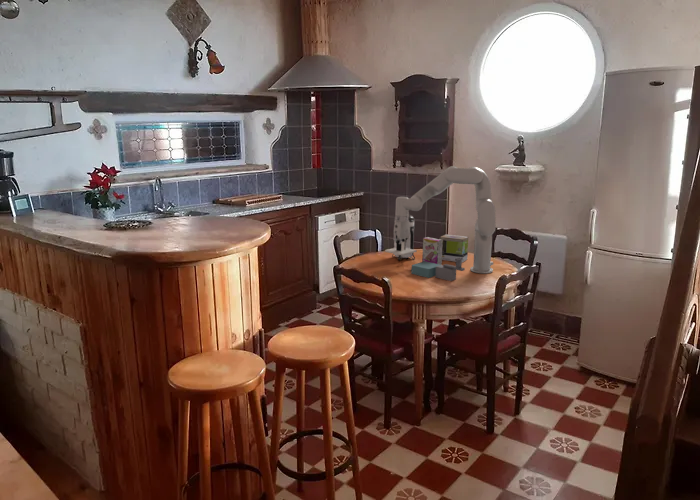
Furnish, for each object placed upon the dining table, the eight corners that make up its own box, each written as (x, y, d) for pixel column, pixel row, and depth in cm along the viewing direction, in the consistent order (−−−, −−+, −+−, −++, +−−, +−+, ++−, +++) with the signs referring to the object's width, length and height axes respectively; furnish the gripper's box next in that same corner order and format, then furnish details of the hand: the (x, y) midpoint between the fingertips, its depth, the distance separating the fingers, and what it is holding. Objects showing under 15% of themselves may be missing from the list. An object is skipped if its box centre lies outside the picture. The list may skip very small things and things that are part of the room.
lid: (399, 248, 325) (399, 238, 324) (416, 251, 316) (417, 241, 315) (384, 251, 316) (385, 241, 315) (402, 255, 307) (402, 245, 306)
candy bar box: (421, 264, 327) (422, 238, 323) (426, 263, 330) (427, 236, 327) (437, 268, 320) (438, 240, 316) (442, 266, 323) (443, 239, 319)
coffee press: (386, 259, 339) (387, 211, 332) (398, 254, 352) (399, 208, 345) (411, 263, 330) (413, 214, 323) (422, 257, 343) (424, 210, 336)
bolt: (447, 265, 301) (447, 254, 299) (465, 269, 292) (466, 258, 291) (441, 267, 297) (442, 255, 296) (460, 271, 289) (461, 259, 287)
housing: (424, 269, 317) (424, 259, 315) (459, 277, 300) (460, 267, 299) (411, 273, 308) (411, 263, 307) (446, 282, 292) (447, 271, 291)
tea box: (467, 259, 339) (469, 236, 336) (461, 263, 331) (463, 239, 327) (445, 256, 347) (446, 233, 343) (438, 259, 339) (439, 236, 335)
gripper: (397, 221, 303) (396, 253, 308) (415, 217, 315) (414, 248, 319) (387, 219, 308) (386, 251, 313) (405, 216, 320) (404, 246, 324)
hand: (400, 249), depth 316 cm, fingers closed on lid, 3 cm apart
